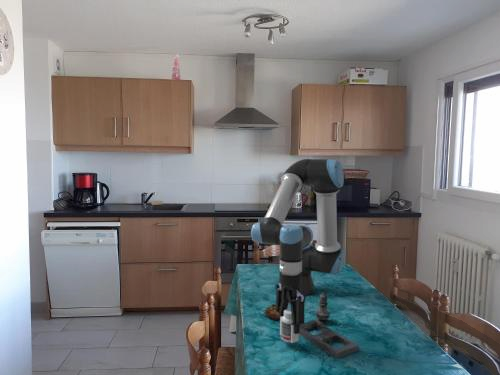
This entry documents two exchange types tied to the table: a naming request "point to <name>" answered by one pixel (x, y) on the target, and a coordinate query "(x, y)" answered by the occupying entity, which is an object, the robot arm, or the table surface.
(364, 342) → the table surface
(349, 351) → the grey rectangular frame
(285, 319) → the pill bottle
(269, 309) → the bread roll
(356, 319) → the table surface
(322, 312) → the grey chess piece
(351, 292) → the table surface
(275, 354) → the table surface
